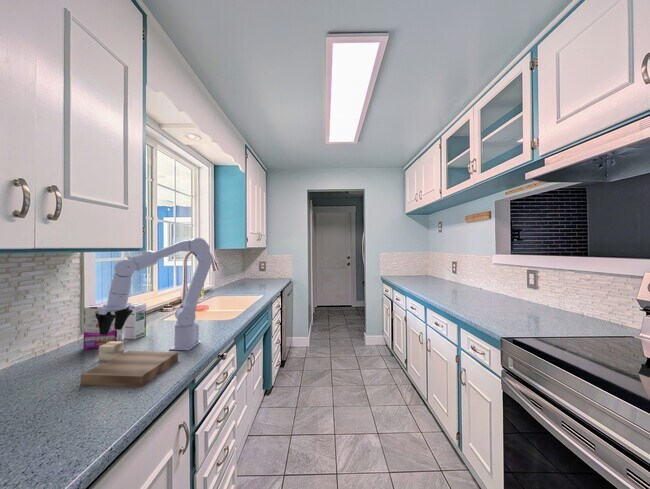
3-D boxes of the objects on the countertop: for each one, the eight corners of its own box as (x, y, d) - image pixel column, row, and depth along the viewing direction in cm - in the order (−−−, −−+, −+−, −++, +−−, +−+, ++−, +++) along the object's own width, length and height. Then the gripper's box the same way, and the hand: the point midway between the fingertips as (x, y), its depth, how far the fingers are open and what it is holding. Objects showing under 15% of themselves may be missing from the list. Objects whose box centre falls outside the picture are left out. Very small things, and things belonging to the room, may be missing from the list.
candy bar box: (122, 343, 111) (123, 303, 112) (116, 347, 107) (117, 306, 107) (89, 345, 109) (91, 304, 109) (82, 350, 104) (83, 307, 104)
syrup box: (135, 339, 116) (135, 305, 116) (123, 338, 117) (124, 304, 117) (146, 335, 122) (147, 303, 122) (135, 334, 123) (136, 302, 123)
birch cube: (110, 354, 100) (110, 341, 100) (123, 355, 100) (123, 341, 100) (98, 360, 95) (99, 346, 95) (112, 360, 95) (112, 346, 95)
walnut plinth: (128, 359, 96) (128, 350, 96) (177, 360, 95) (178, 352, 95) (80, 384, 78) (80, 374, 78) (141, 387, 77) (141, 376, 77)
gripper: (120, 290, 103) (112, 325, 102) (92, 293, 89) (83, 335, 88) (139, 292, 104) (132, 328, 103) (115, 296, 90) (106, 338, 88)
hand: (111, 331), depth 95 cm, fingers open, 7 cm apart
